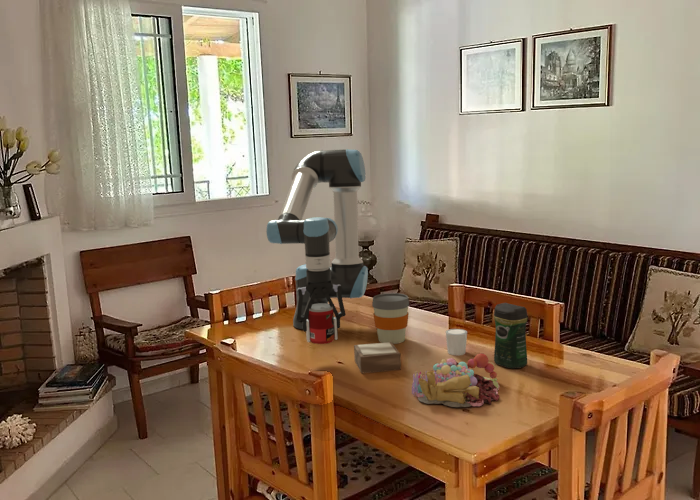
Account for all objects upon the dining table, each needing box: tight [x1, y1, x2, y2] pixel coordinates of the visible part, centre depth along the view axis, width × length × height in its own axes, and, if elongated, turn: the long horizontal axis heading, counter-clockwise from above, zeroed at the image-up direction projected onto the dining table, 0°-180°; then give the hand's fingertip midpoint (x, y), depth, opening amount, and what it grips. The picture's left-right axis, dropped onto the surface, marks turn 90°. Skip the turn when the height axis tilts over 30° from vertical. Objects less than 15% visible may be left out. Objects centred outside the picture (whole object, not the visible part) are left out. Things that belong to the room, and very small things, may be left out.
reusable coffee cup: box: [371, 292, 410, 345], centre depth 234 cm, size 13×13×15 cm
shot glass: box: [445, 328, 468, 356], centre depth 219 cm, size 7×7×7 cm
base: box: [353, 342, 402, 374], centre depth 210 cm, size 12×12×5 cm
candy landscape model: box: [411, 353, 500, 408], centre depth 186 cm, size 25×24×9 cm
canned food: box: [308, 303, 335, 345], centre depth 213 cm, size 8×8×11 cm
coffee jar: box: [493, 302, 528, 369], centre depth 205 cm, size 10×8×19 cm
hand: (322, 339), depth 214 cm, fingers closed on canned food, 8 cm apart
